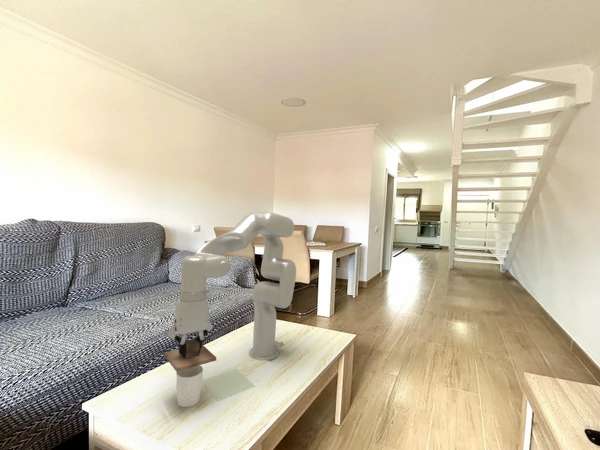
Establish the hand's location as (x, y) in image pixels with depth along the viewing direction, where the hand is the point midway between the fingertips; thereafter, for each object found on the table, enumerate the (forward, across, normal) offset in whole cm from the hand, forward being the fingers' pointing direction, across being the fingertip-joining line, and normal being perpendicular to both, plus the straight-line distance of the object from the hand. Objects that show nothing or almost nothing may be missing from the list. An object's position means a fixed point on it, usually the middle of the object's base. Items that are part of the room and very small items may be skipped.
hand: (190, 352), depth 91 cm
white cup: (+16, 0, 0) cm, 16 cm away
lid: (+2, 0, 0) cm, 2 cm away
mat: (+16, -14, -1) cm, 21 cm away
